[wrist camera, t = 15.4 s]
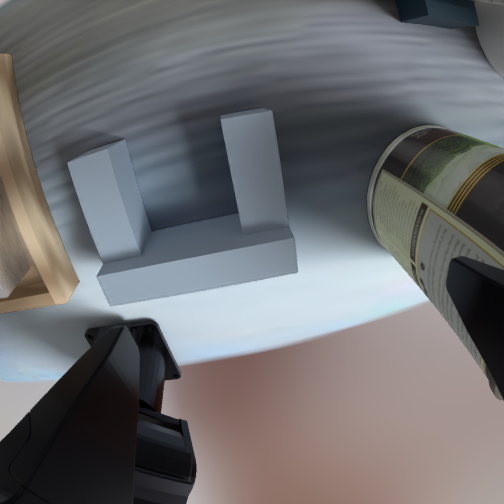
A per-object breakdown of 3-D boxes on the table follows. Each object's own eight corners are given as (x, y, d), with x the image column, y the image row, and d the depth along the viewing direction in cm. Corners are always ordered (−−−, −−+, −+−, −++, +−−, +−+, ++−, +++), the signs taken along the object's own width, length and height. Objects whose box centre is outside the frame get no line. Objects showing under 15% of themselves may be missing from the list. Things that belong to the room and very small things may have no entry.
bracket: (282, 234, 20) (298, 272, 16) (128, 265, 20) (110, 306, 16) (263, 107, 16) (277, 112, 12) (89, 150, 16) (55, 169, 12)
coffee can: (404, 95, 16) (606, 150, 4) (491, 165, 19) (628, 249, 7) (338, 234, 21) (454, 409, 8) (435, 272, 23) (535, 396, 11)
